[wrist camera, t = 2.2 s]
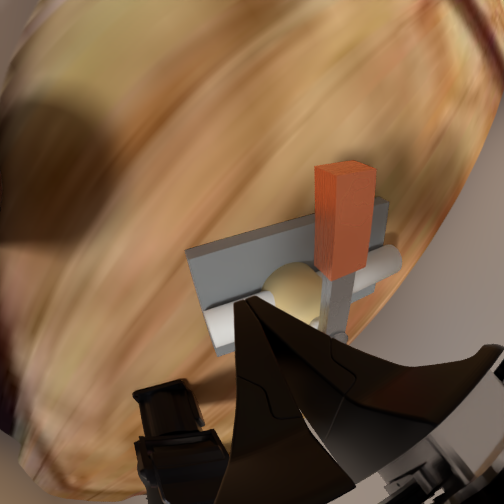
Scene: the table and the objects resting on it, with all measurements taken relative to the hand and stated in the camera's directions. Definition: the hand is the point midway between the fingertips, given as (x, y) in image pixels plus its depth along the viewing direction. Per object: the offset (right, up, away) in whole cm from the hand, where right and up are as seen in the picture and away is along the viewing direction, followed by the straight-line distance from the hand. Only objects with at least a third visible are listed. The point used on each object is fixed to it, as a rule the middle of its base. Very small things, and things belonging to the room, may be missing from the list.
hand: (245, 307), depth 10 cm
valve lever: (+5, +1, +8) cm, 9 cm away
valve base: (+5, 0, +17) cm, 18 cm away
